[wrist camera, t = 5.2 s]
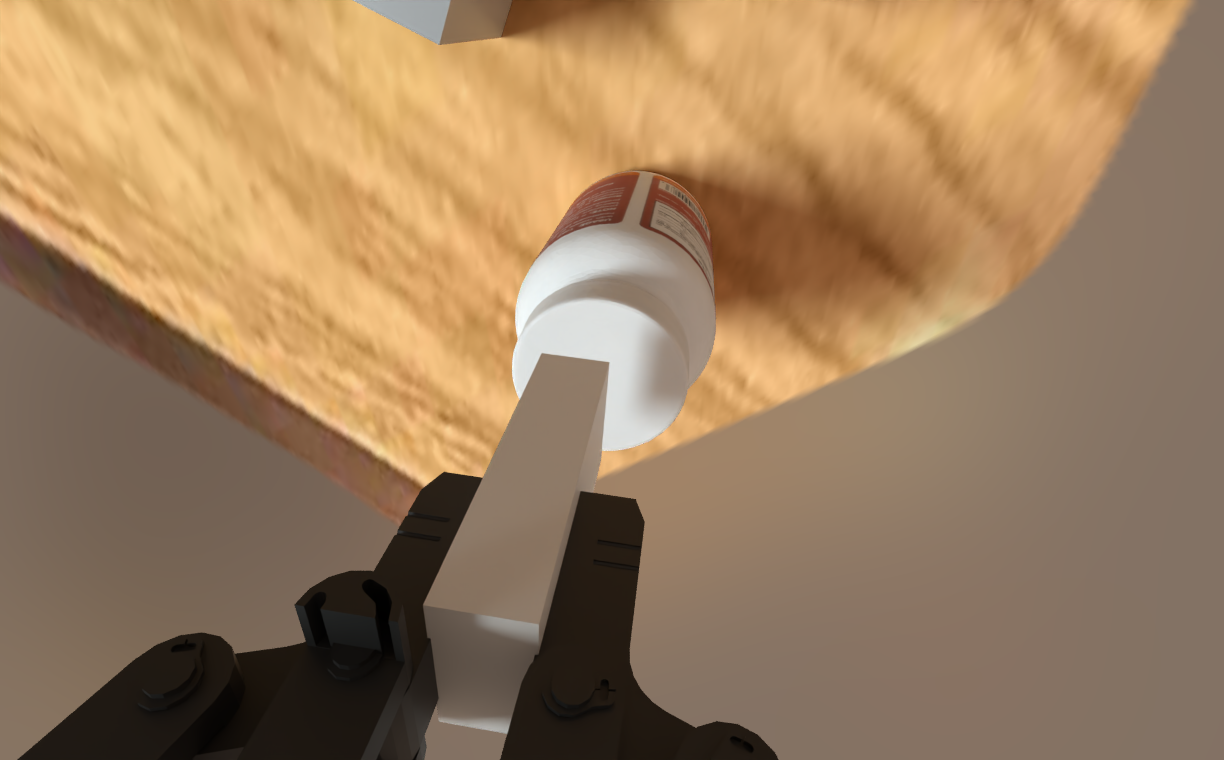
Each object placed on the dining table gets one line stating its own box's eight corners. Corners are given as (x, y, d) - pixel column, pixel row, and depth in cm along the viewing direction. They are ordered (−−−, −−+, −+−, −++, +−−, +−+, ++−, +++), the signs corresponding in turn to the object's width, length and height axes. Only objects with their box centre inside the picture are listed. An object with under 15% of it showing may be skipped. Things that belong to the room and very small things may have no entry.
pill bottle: (560, 301, 27) (481, 455, 18) (568, 157, 24) (477, 251, 14) (699, 321, 27) (695, 490, 17) (727, 178, 23) (740, 289, 14)
